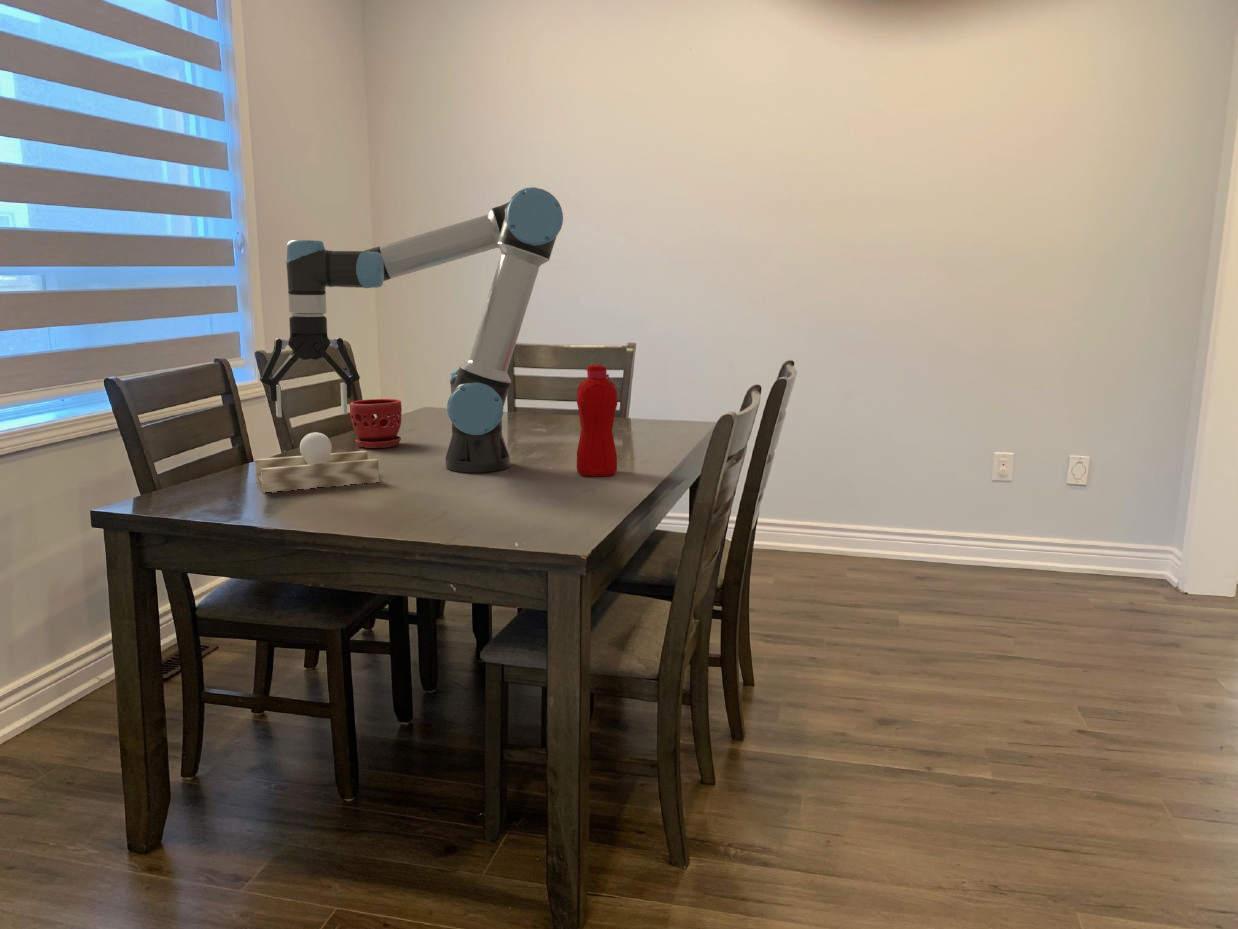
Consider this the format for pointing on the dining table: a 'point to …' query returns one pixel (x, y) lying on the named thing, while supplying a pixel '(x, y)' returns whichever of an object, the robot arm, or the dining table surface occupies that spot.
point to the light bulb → (315, 448)
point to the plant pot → (376, 422)
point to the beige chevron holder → (315, 472)
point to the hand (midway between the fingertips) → (312, 414)
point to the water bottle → (597, 423)
